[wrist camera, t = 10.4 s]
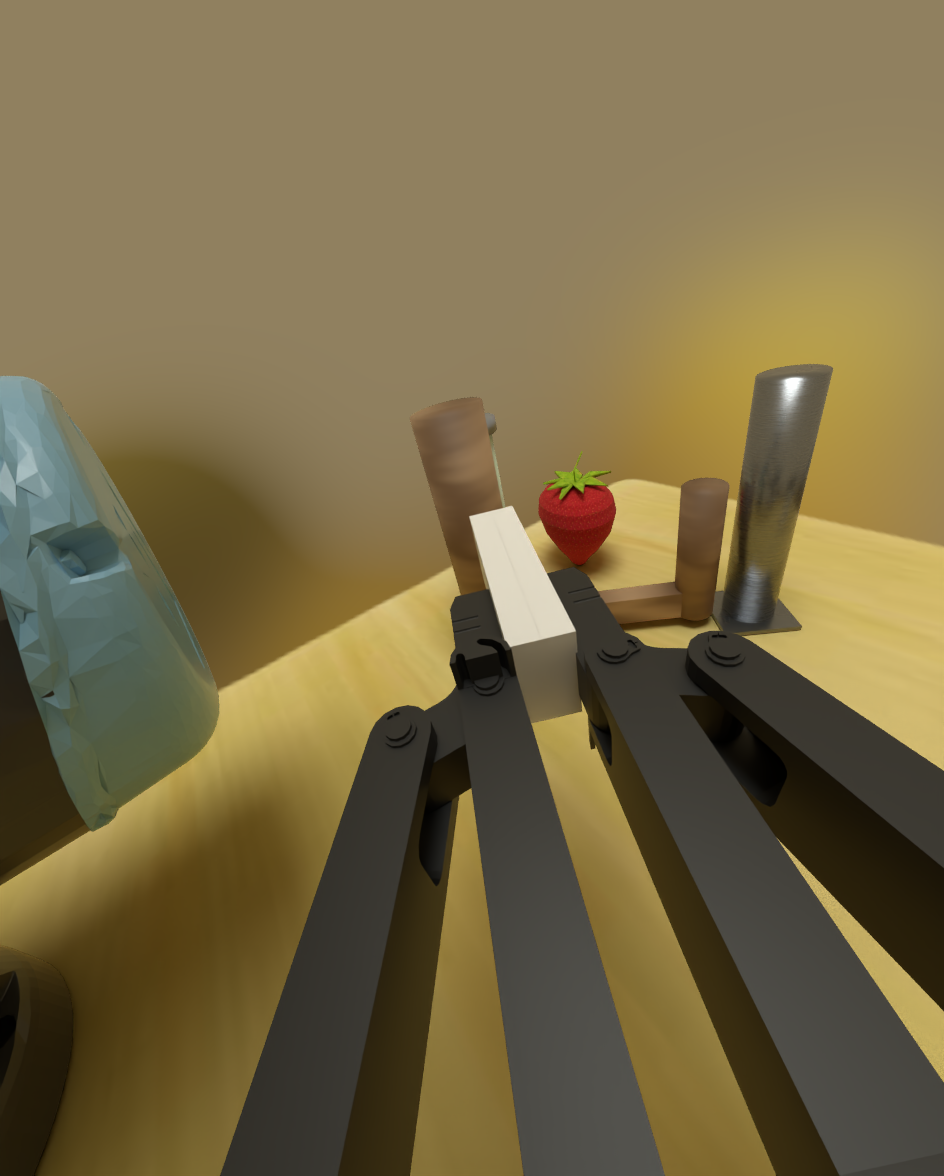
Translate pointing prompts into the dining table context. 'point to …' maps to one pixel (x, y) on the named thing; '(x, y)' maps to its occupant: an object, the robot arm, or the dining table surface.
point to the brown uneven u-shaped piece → (471, 487)
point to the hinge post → (771, 497)
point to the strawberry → (577, 513)
